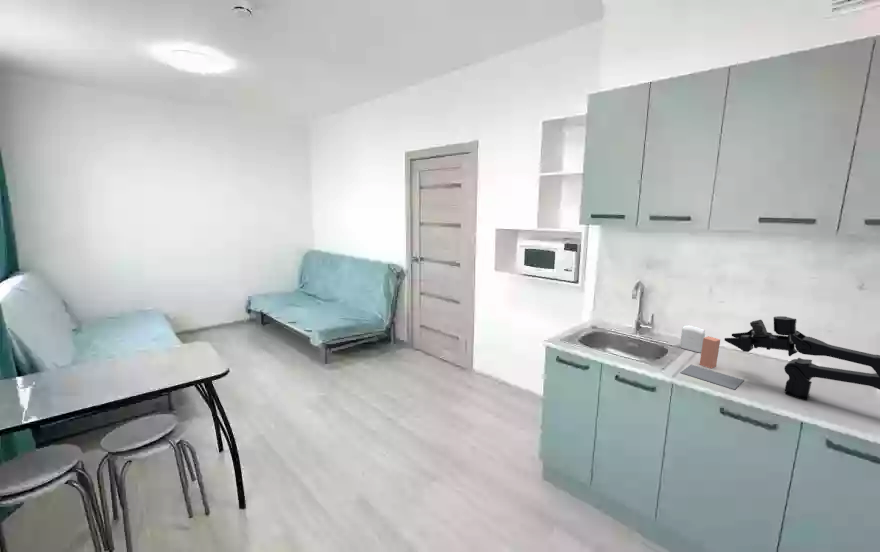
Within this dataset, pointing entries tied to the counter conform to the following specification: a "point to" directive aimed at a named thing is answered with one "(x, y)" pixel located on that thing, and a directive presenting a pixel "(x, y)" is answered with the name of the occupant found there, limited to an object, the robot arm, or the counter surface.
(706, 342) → the card box
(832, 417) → the counter surface
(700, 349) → the photo printer
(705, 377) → the mat
